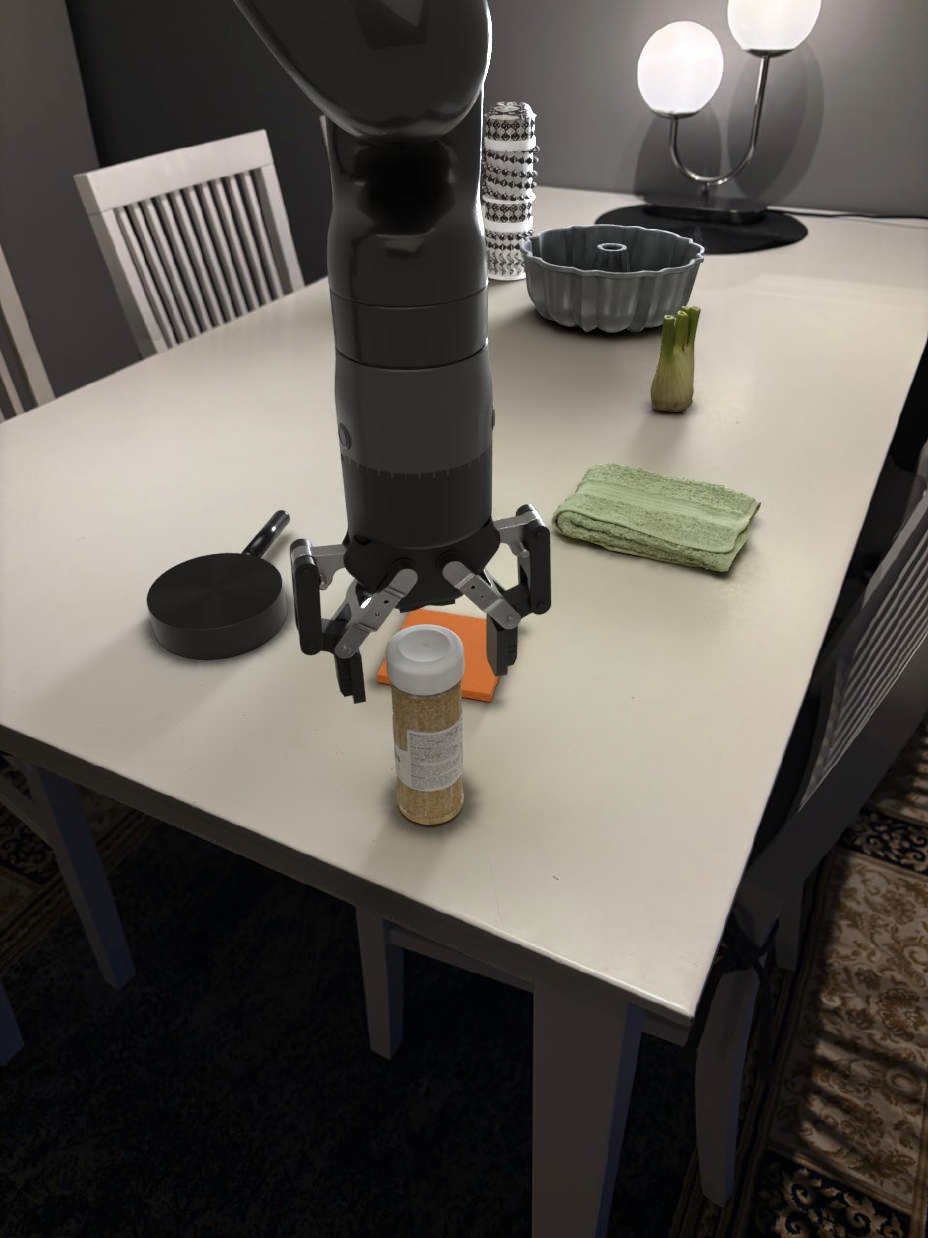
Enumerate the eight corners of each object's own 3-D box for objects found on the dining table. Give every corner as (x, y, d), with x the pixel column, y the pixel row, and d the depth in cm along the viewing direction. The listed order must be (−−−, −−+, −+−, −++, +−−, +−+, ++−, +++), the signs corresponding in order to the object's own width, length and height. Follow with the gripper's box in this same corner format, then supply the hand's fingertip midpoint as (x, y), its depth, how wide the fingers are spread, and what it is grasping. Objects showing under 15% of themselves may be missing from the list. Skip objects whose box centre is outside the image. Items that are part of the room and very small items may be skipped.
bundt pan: (596, 276, 151) (601, 212, 145) (731, 315, 136) (743, 245, 129) (481, 314, 137) (481, 244, 131) (617, 362, 121) (624, 286, 115)
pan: (128, 647, 74) (119, 617, 72) (235, 526, 89) (230, 499, 87) (252, 669, 72) (246, 639, 70) (341, 541, 86) (338, 514, 85)
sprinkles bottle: (399, 776, 62) (388, 621, 54) (465, 776, 62) (464, 621, 54) (394, 829, 59) (381, 670, 51) (465, 829, 59) (463, 670, 51)
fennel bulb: (654, 418, 108) (666, 317, 100) (639, 401, 111) (650, 303, 104) (699, 413, 108) (716, 313, 101) (683, 397, 112) (698, 299, 105)
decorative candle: (525, 283, 149) (530, 109, 133) (472, 277, 151) (471, 106, 136) (541, 267, 155) (548, 100, 140) (490, 262, 158) (492, 97, 143)
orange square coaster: (376, 682, 70) (376, 674, 70) (412, 614, 77) (411, 607, 77) (490, 702, 68) (490, 694, 68) (516, 631, 75) (516, 623, 75)
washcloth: (731, 583, 80) (738, 553, 79) (545, 538, 87) (547, 509, 85) (760, 514, 90) (766, 485, 88) (590, 478, 96) (593, 450, 94)
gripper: (530, 384, 49) (522, 624, 59) (261, 417, 46) (300, 663, 56) (580, 445, 43) (562, 700, 53) (276, 487, 40) (317, 748, 50)
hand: (427, 680), depth 54 cm, fingers open, 8 cm apart
